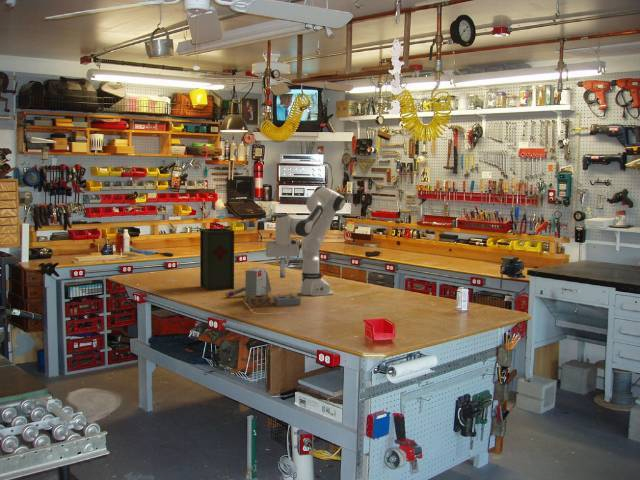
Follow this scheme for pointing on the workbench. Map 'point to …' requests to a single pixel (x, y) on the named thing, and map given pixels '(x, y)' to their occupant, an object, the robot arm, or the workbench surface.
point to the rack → (259, 301)
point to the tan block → (293, 294)
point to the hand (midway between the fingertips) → (282, 264)
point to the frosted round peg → (282, 267)
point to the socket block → (286, 300)
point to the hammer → (244, 288)
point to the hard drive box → (255, 282)
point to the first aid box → (217, 259)
